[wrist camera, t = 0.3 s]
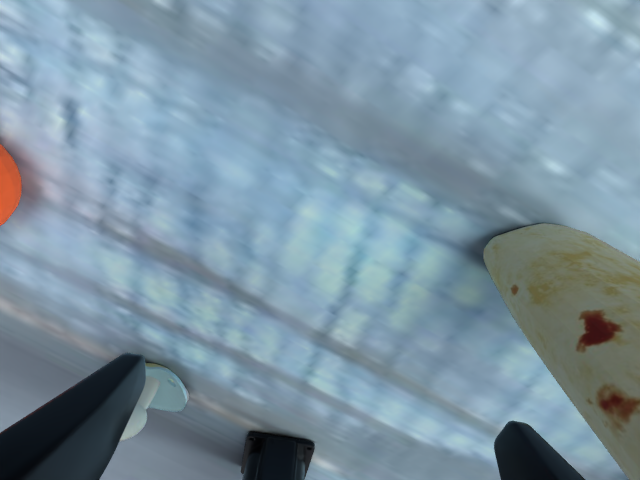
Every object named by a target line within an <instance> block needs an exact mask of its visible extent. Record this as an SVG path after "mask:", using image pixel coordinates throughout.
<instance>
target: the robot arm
mask: <svg viewBox="0 0 640 480" xmlns="http://www.w3.org/2000/svg"><path fill="white" fill-rule="evenodd" d="M145 382H146V369H145V358H144V356H143V355H139V354H133V353H125V354H123V355H121V356H119V357H118V358H116V359H115V360H113V361H112V362H110V363H108V364H107V365H105V366H104V367H102V368H101V369H99V370H97V371H96V372H94V373H93V374H91V375H90V376H88V377H87V378H85V379H83V380H82V381H80V382H79V383H77V384H76V385H74V386H73V387H71V388H69V389H68V390H66V391H65V392H63V393H62V394H60V395H59V396H57V397H55V398H54V399H52V400H51V401H49V402H48V403H46V404H44V405H43V406H41V407H40V408H38V409H37V410H35V411H34V412H32V413H30V414H29V415H27V416H26V417H24V418H23V419H21V420H20V421H18V422H16V423H15V424H13V425H12V426H10V427H9V428H7V429H5V430H4V431H2V432H1V433H0V480H99V479H100V477H101V476H102V474H103V472H104V470H105V469H106V467H107V465H108V463H109V461H110V460H111V458H112V456H113V454H114V451H115V449H116V447H117V445H118V443H119V441H120V439H121V437H122V434H123V432H124V430H125V428H126V426H127V424H128V421H129V419H130V417H131V415H132V413H133V411H134V408H135V406H136V404H137V402H138V400H139V398H140V396H141V393H142V391H143V389H144V386H145ZM314 446H315V444H314V443H313V442H311V441H306V440H299V439H293V438H287V437H281V436H275V435H269V434H263V433H257V432H249V433H248V434H247V438H246V444H245V450H244V456H243V462H242V468H241V473H242V474H244V475H243V479H242V480H304V479H305V476H306V473H307V470H308V467H309V464H310V461H311V458H312V455H313V452H314ZM494 450H495V455H496V459H497V464H498V468H499V473H500V477H501V480H585V479H584V478H583V477H582V476H581V475H580V474H579V473H578V472H577V471H576V470H575V469H574V468H573V467H572V466H571V465H570V464H569V463H568V462H567V461H566V460H565V459H564V458H563V457H562V456H561V455H559V454H558V453H557V452H556V451H555V450H554V449H553V448H552V447H551V446H550V445H549V444H548V443H547V442H546V441H545V440H544V439H543V438H542V437H541V436H540V435H539V434H538V433H537V432H536V431H535V430H534V429H533V428H532V427H531V426H529V425H528V424H526V423H522V422H517V421H509V422H508V423H507V424H506V425H505V427H504V428H503V429H502V431H501V432H500V434H499V435H498V436H497V438H496V439H495V442H494Z"/></svg>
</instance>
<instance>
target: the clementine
mask: <svg viewBox="0 0 640 480" xmlns="http://www.w3.org/2000/svg"><path fill="white" fill-rule="evenodd" d="M21 189H22V185H21V176H20V173H19V170H18V167H17V165H16V163H15V162H14V160H13V158H12V156H11V155H10V154H9V153H8V152H7V150H6V149H5V148H4V147H3V146H2V145H1V144H0V226H1V225H2V224H4V223H5V222H6V221H7V220H8V218H9V217H10V216H11V214H12V213H13V212H14V210H15V209H16V207H17V206H18V204H19V201H20V197H21Z"/></svg>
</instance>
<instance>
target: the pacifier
mask: <svg viewBox="0 0 640 480" xmlns="http://www.w3.org/2000/svg"><path fill="white" fill-rule="evenodd" d="M145 369H146V382H145V386H144V389H143V391H142V393H141V396H140V398H139V400H138V402H137V404H136V406H135V408H134V411H133V413H132V415H131V417H130V419H129V421H128V424H127V426H126V428H125V430H124V432H123V434H122V437H121V439H120V441H124V440H127V439H129V438H131V437H133V436H135V435H136V434H138V433H139V432H140V431H141V430H142V429H143V427H144V426H145V424H146V422H147V412H146V410H147V408H148V407H149V408H154V409H159V410H164V411H170V412H179V411H181V410H183V409H184V408H185V406H186V403H187V401H188V399H189V393H188V391H187V389H186V388H185V387H184V385H183V383H182V382H181V380H180V379H179V378H178V377H177V376H176V375H175V374H174V373H173V372H172V371H170V370H169V369H168V368H166V367H164V366H161V365H157V364H152V363H145ZM120 441H119V442H120Z"/></svg>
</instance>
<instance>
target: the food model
mask: <svg viewBox="0 0 640 480" xmlns="http://www.w3.org/2000/svg"><path fill="white" fill-rule="evenodd" d="M483 259H484V262H485V265H486V267H487V269H488V271H489V274H490V276H491V278H492V280H493V282H494V284H495V285H496V287H497V289H498V291H499V293H500V294H501V296H502V298H503V300H504V302H505V304H506V305H507V307H508V309H509V311H510V313H511V315H512V316H513V318H514V319H515V321H516V323H517V324H518V326H519V327H520V329H521V330H522V332H523V333H524V335H525V336H526V338H527V339H528V341H529V342H530V344H531V345H532V347H533V348H534V350H535V351H536V352H537V354H538V355H539V357H540V358H541V360H542V361H543V362H544V364H545V365H546V367H547V368H548V370H549V371H550V372H551V374H552V375H553V377H554V378H555V379H556V381H557V382H558V384H559V385H560V386H561V388H562V389H563V390H564V392H565V393H566V395H567V396H568V397H569V399H570V400H571V402H572V403H573V404H574V406H575V407H576V408H577V410H578V411H579V412H580V414H581V415H582V416H583V418H584V419H585V421H586V422H587V423H588V425H589V426H590V427H591V429H592V430H593V431H594V433H595V434H596V435H597V437H598V438H599V439H600V441H601V442H602V444H603V445H604V446H605V448H606V449H607V450H608V452H609V453H610V454H611V456H612V457H613V458H614V460H615V461H616V462H617V464H618V465H619V467H620V468H621V469H622V471H623V472H624V473H625V475H626V476H627V477H628V478H629V480H640V262H639V261H637V260H635V259H633V258H631V257H630V256H628V255H626V254H624V253H623V252H621V251H619V250H617V249H616V248H614V247H612V246H610V245H609V244H607V243H605V242H603V241H601V240H599V239H598V238H596V237H594V236H592V235H590V234H588V233H586V232H583V231H580V230H576V229H573V228H570V227H567V226H562V225H555V224H547V223H542V224H537V225H531V226H527V227H523V228H520V229H516V230H513V231H510V232H507V233H504V234H501V235H498V236H495V237H493V238H492V239H491V240H490V241H489V243H488V244H487V245H486V247H485V248H484V251H483Z"/></svg>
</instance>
